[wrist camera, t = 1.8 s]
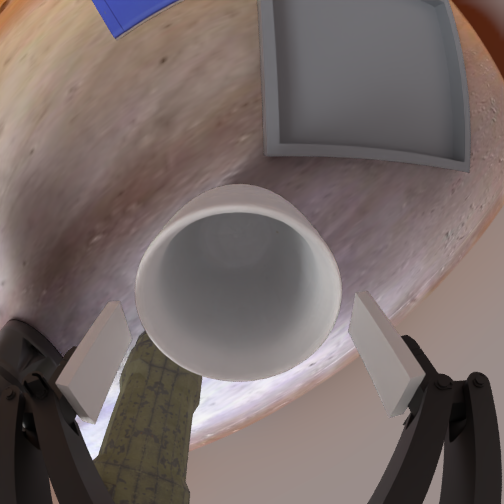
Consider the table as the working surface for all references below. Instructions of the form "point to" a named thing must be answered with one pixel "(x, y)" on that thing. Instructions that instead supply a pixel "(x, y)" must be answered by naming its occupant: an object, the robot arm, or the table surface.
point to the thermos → (149, 430)
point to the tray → (364, 81)
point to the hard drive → (129, 13)
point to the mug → (238, 285)
